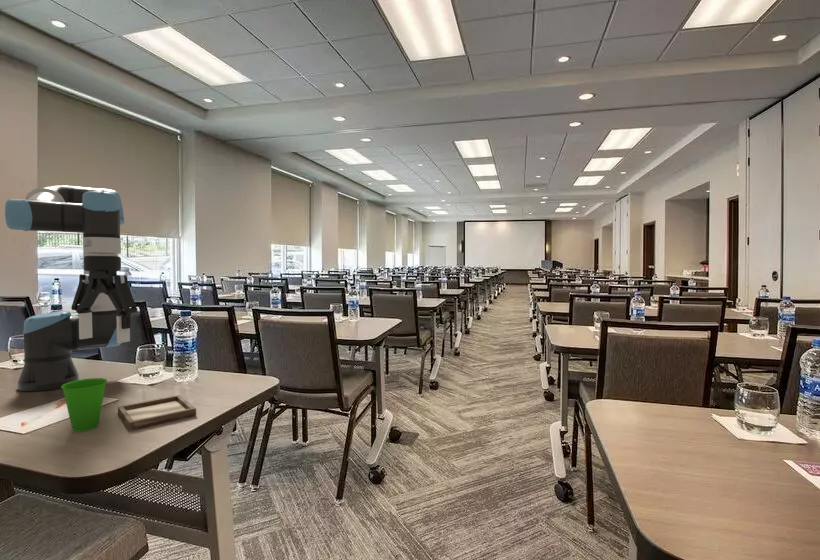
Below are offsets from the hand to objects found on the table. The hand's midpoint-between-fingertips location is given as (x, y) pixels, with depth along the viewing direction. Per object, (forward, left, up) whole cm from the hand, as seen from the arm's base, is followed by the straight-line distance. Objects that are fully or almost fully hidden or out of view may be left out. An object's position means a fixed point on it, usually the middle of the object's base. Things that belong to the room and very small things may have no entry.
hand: (104, 340), depth 107 cm
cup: (0, -4, -21) cm, 22 cm away
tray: (+2, +11, -21) cm, 24 cm away
